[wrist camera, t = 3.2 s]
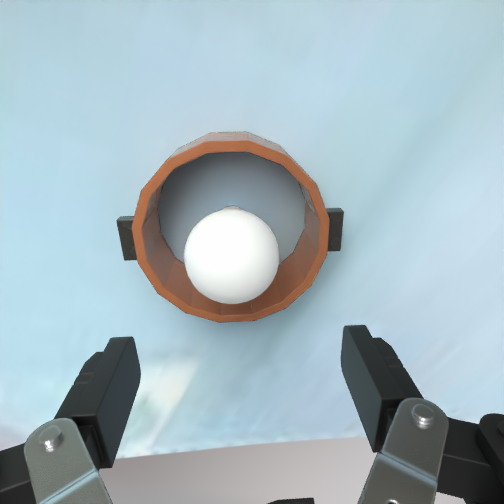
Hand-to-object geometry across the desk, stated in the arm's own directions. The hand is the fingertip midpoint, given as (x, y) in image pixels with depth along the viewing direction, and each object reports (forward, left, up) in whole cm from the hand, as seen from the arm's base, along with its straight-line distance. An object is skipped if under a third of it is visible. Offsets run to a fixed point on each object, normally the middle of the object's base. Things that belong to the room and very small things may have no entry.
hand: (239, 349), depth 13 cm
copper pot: (0, -1, -18) cm, 18 cm away
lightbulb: (0, -1, -18) cm, 18 cm away
